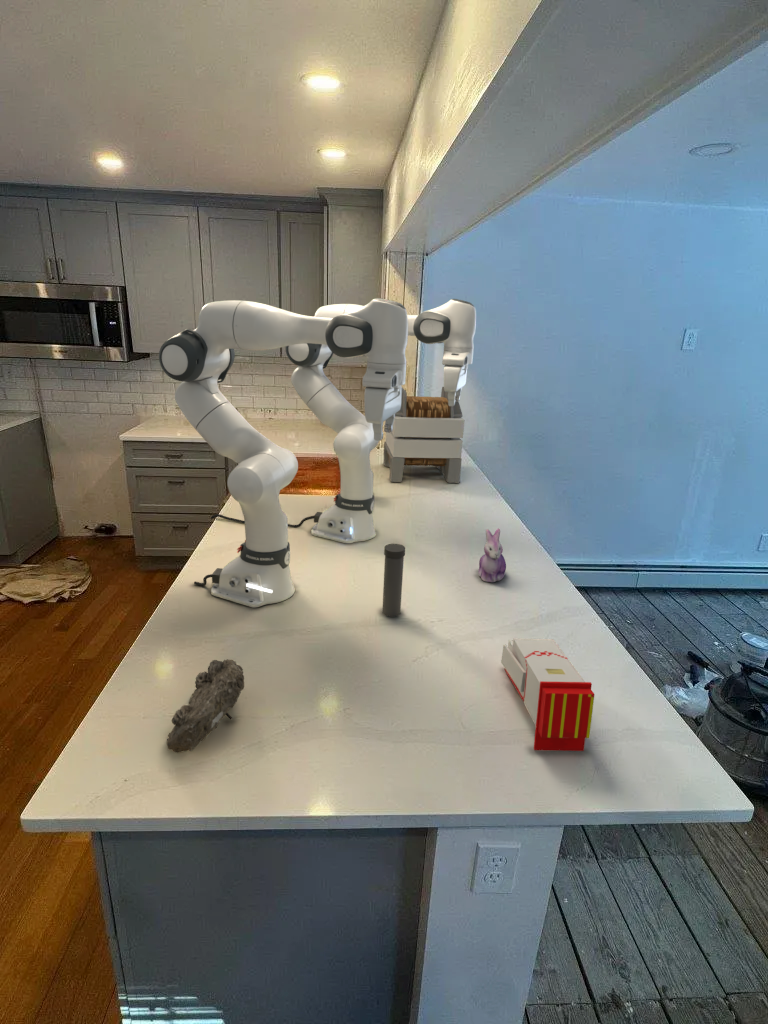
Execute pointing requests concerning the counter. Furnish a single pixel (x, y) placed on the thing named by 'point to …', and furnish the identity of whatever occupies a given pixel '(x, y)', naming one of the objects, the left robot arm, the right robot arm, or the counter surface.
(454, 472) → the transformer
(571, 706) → the toy
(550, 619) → the counter surface
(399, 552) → the lid
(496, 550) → the figurine
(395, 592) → the dark grey long cylinder
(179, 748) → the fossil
